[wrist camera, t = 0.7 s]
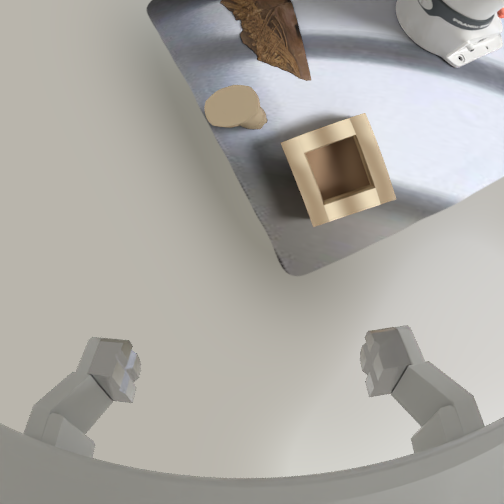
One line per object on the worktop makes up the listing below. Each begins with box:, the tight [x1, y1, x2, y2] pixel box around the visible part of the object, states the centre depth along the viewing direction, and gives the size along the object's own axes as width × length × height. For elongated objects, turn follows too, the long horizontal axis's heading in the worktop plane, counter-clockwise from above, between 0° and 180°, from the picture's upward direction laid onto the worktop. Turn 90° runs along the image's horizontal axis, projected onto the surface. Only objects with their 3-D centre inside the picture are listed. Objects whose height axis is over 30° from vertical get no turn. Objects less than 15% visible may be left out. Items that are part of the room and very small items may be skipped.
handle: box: [205, 85, 267, 129], centre depth 38 cm, size 5×6×15 cm
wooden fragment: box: [220, 0, 311, 81], centre depth 39 cm, size 26×11×1 cm, turn 24°
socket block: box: [281, 113, 396, 227], centre depth 42 cm, size 13×13×6 cm
